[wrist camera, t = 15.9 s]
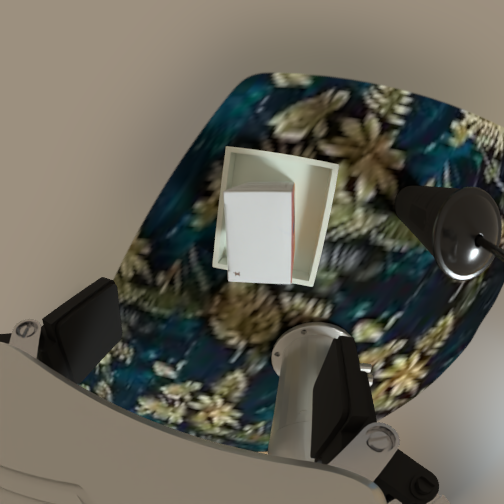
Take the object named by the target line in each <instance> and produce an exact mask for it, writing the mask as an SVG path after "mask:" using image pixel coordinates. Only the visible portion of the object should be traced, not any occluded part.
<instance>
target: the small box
mask: <svg viewBox="0 0 504 504" xmlns="http://www.w3.org/2000/svg"><path fill="white" fill-rule="evenodd" d="M223 201H224V212H225V229H226V245H227V264H228V281H231V282H249V283H272V284H291V283H292V273H293V263H294V253H295V182H247V183H244V184H241V185H238V186H235V187H233V188H230V189H227V190H224V191H223Z"/></svg>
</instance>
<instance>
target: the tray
mask: <svg viewBox="0 0 504 504" xmlns="http://www.w3.org/2000/svg"><path fill="white" fill-rule="evenodd" d="M338 169H339V165H338V164H334V163H329V162H324V161H319V160H314V159H309V158H304V157H298V156H293V155H287V154H281V153H275V152H268V151H261V150H254V149H246V148H238V147H229V146H226V150H225V158H224V166H223V173H222V181H221V190H220V198H219V207H218V216H217V225H216V235H215V245H214V255H213V266H212V267H215V268H220V269H225V270H228V264H227V245H226V229H225V212H224V201H223V191H224V190H227V189H230V188H233V187H235V186H238V185H241V184H244V183H247V182H295V253H294V263H293V273H292V283H295V284H300V285H305V286H311V287H313V285H314V281H315V277H316V273H317V269H318V265H319V261H320V256H321V252H322V248H323V244H324V239H325V235H326V230H327V226H328V221H329V216H330V211H331V206H332V201H333V196H334V191H335V186H336V180H337V175H338Z"/></svg>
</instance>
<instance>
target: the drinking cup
mask: <svg viewBox="0 0 504 504" xmlns="http://www.w3.org/2000/svg"><path fill="white" fill-rule="evenodd" d="M395 211H396V214H397V216H398V218H399V219H400V220H401V221H402V222H403V223H404V224H405V225H406V226H407V227H408V228H409V229H410V230H411V232H412V233H413V234H414V235H415V236H416V237H417V238H418V239H419V240H420V241H421V243H422V244H423V245H424V246H425V247H426V248H427V249H428V251H429V252H430V253H431V254H432V255H433V256H434V258H435V261H436V263H437V265H438V267H439V268H440V269H441V271H442V272H443V273H444V274H445V275H447V276H448V277H449V278H451V279H454V280H458V281H466V280H470V279H473V278H475V277H477V276H478V275H480V274H481V273H482V272H483V271H484V270H485V269H486V268H487V267H488V266H489V265H490V263H491V262H492V260H493V259H494V257H495V256H496V257H498V258H499V259H501V260H502V261H503V262H504V250H503V249H501V248H500V247H499V244H500V239H501V231H502V224H501V217H500V212H499V209H498V207H497V205H496V203H495V201H494V200H493V198H492V197H491V196H490V195H489V194H488V193H487V192H486V191H484V190H482V189H480V188H476V187H464V188H461V189H456V188H443V187H429V186H407V187H405V188H403V189H402V190H401V191H400V192H399V193H398V195H397V197H396V200H395Z"/></svg>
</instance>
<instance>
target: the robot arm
mask: <svg viewBox="0 0 504 504" xmlns="http://www.w3.org/2000/svg"><path fill="white" fill-rule="evenodd" d="M42 320H43V324H44V325H43V326H42V327H41V325H40V323H39V322H38V321H36V320H33V319H27V320H23V321H20V322H19V323H17V324H16V325H15V327H14V329H13V331H12V333H10V334H0V504H450V503H449V502H448V500H447V499H446V497H445V496H444V495H442V496H439V494H438V491H439V483H438V480H437V478H436V476H435V475H434V474H433V473H431V472H430V471H428V470H427V469H425V468H424V467H423V466H421V465H420V464H418V463H417V462H416V461H414V460H413V459H411V458H410V457H409V456H407V455H406V454H404V453H403V452H402V451H400V450H399V449H398V447H399V445H400V439H399V435H398V433H397V432H396V431H395V429H393V428H392V427H391V426H389V425H387V424H385V423H380V422H378V423H377V421H376V415H375V410H374V404H373V399H372V394H371V389H370V386H371V385H372V382H373V376H372V375H367V373H370V371H371V364H365V363H362V364H361V363H359V359H358V354H357V349H356V345H355V341H354V338H353V337H351V336H350V334H348V333H347V332H346V331H345V330H344V329H342V328H340V327H338V326H336V325H333V324H330V323H324V322H311V323H304V324H301V325H298V326H295V327H293V328H291V329H289V330H288V331H286V332H285V333H283V334H282V335H281V336H280V337H279V338H278V340H277V341H276V343H275V345H274V347H273V351H272V357H271V359H272V365H273V368H274V370H275V372H276V373H277V374H278V375H279V376H280V378H279V385H278V392H277V398H276V405H275V411H274V417H273V424H272V430H271V435H270V441H269V446H268V454H263V453H258V452H253V451H249V450H244V449H240V448H236V447H231V446H227V445H223V444H220V443H216V442H212V441H209V440H205V439H202V438H199V437H195V436H192V435H189V434H186V433H183V432H180V431H177V430H175V429H172V428H169V427H166V426H164V425H161V424H158V423H156V422H153V421H151V420H148V419H146V418H143V417H141V416H139V415H136V414H134V413H132V412H130V411H127V410H125V409H123V408H121V407H119V406H117V405H115V404H113V403H111V402H109V401H107V400H105V399H103V398H101V397H99V396H97V395H95V394H93V393H91V392H90V391H88V390H86V389H84V388H82V387H81V386H79V385H77V383H78V384H79V383H81V382H82V381H83V380H84V379H85V377H86V376H87V375H88V374H89V373H90V372H91V371H92V370H93V369H94V367H95V366H96V365H97V364H98V363H99V362H100V361H101V360H102V359H103V358H104V357H105V355H106V354H107V353H108V352H109V351H110V350H111V349H112V348H113V347H114V346H115V345H116V344H117V343H118V341H119V340H120V339H121V337H122V327H121V319H120V311H119V301H118V291H117V286H116V285H115V282H114V281H113V280H110V279H107V278H104V277H102V278H100V279H98V280H97V281H96V282H94V283H92V284H91V285H89V286H88V287H87V288H85V289H84V290H82V291H81V292H79V293H78V294H76V295H75V296H74V297H72V298H71V299H69V300H68V301H66V302H65V303H64V304H62V305H61V306H59V307H58V308H57V309H55V310H54V311H53V312H51V313H50V314H48V315H47V316H46V317H44V318H43V319H42Z"/></svg>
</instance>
